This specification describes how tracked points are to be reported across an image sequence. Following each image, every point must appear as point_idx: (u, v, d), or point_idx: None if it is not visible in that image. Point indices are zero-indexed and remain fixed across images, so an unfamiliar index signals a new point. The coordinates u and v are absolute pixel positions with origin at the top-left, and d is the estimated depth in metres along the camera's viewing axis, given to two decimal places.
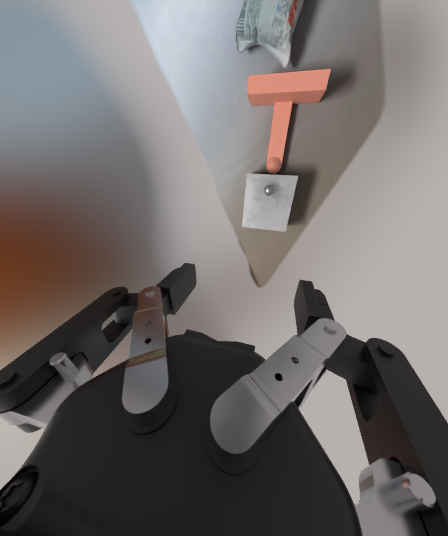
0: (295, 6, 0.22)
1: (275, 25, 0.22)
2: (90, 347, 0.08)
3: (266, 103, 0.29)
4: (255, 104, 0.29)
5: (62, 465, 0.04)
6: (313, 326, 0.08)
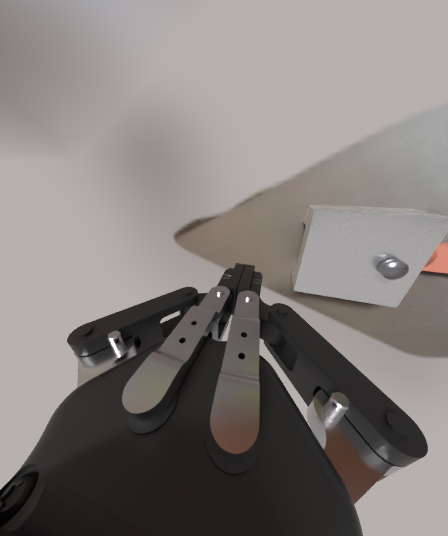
0: None
1: None
2: (145, 334, 0.08)
3: None
4: None
5: (62, 464, 0.04)
6: (238, 301, 0.09)
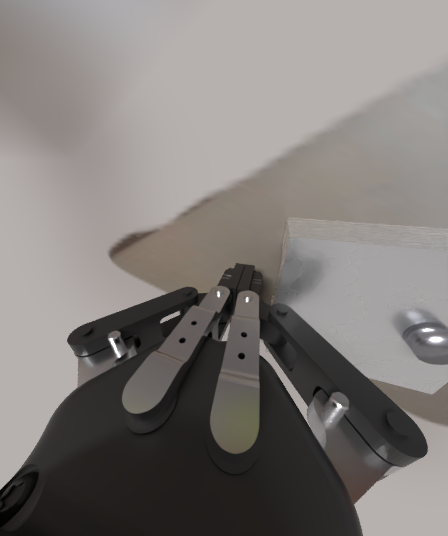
0: None
1: None
2: (145, 334, 0.08)
3: None
4: None
5: (62, 464, 0.04)
6: (238, 301, 0.09)
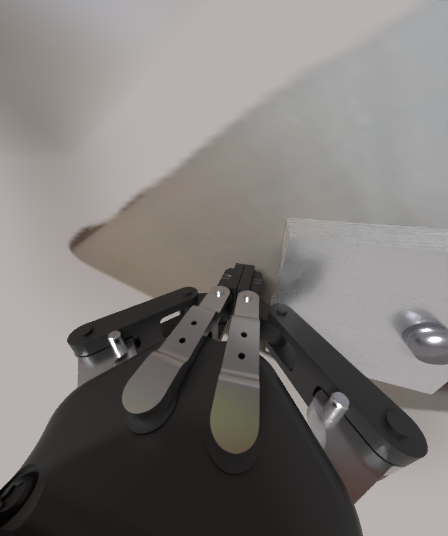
0: None
1: None
2: (145, 334, 0.08)
3: None
4: None
5: (63, 464, 0.04)
6: (238, 301, 0.09)
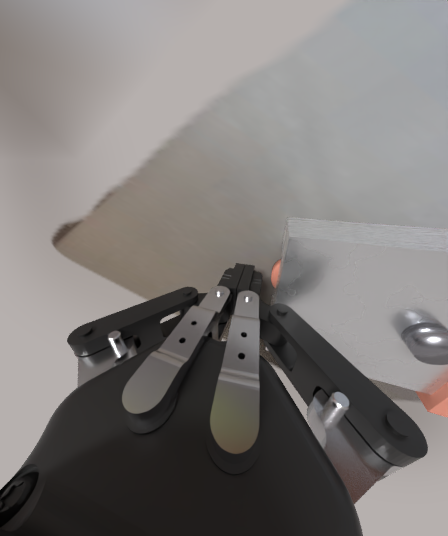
0: None
1: None
2: (145, 334, 0.08)
3: None
4: None
5: (62, 464, 0.04)
6: (238, 301, 0.09)
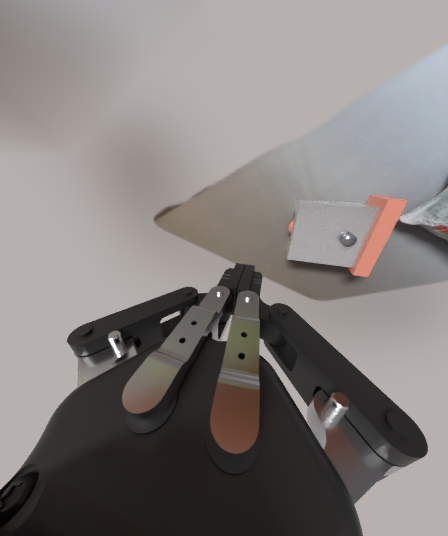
0: (445, 231, 0.22)
1: None
2: (145, 334, 0.08)
3: None
4: (368, 201, 0.25)
5: (63, 464, 0.04)
6: (238, 301, 0.09)
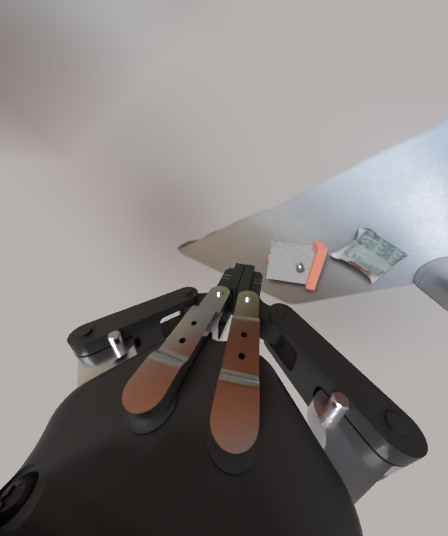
0: (353, 264, 0.38)
1: (353, 255, 0.37)
2: (145, 334, 0.08)
3: None
4: (313, 244, 0.41)
5: (62, 464, 0.04)
6: (238, 301, 0.09)
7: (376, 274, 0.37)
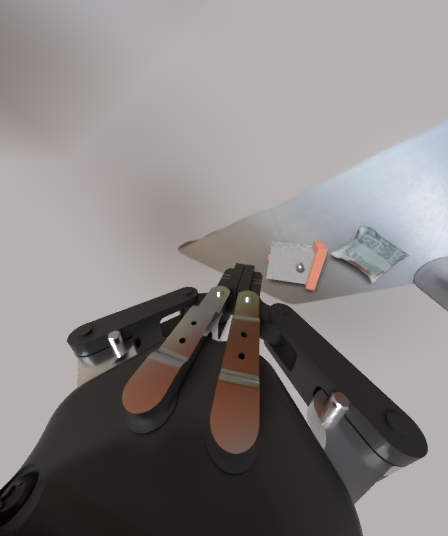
0: (354, 263, 0.38)
1: (354, 254, 0.37)
2: (145, 334, 0.08)
3: None
4: (313, 244, 0.41)
5: (63, 464, 0.04)
6: (238, 301, 0.09)
7: (376, 274, 0.37)
